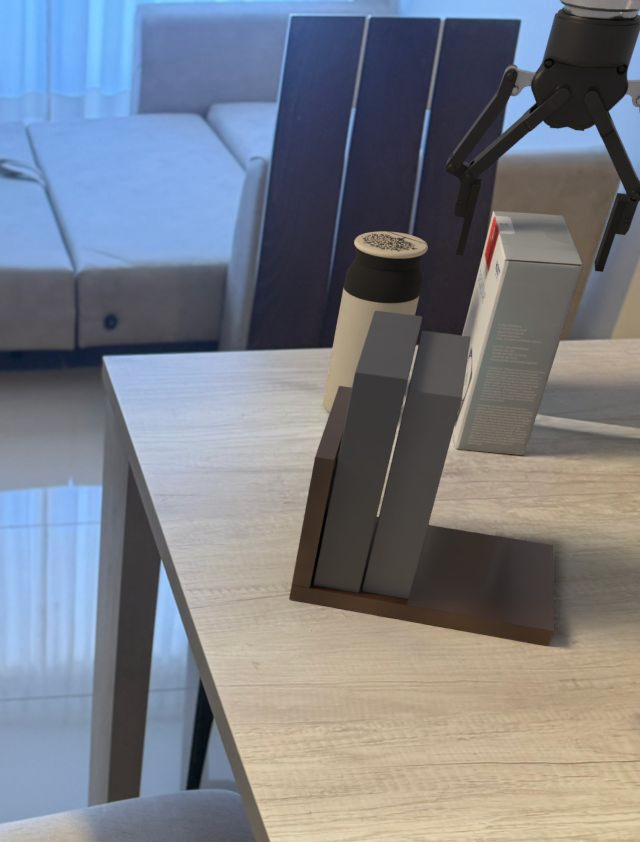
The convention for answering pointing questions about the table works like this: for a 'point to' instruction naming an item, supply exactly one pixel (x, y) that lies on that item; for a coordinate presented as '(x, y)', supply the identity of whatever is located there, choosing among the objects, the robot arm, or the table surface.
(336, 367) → the travel mug
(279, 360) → the table surface
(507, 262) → the hard drive box
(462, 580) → the book rack
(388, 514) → the grey books
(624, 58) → the robot arm
